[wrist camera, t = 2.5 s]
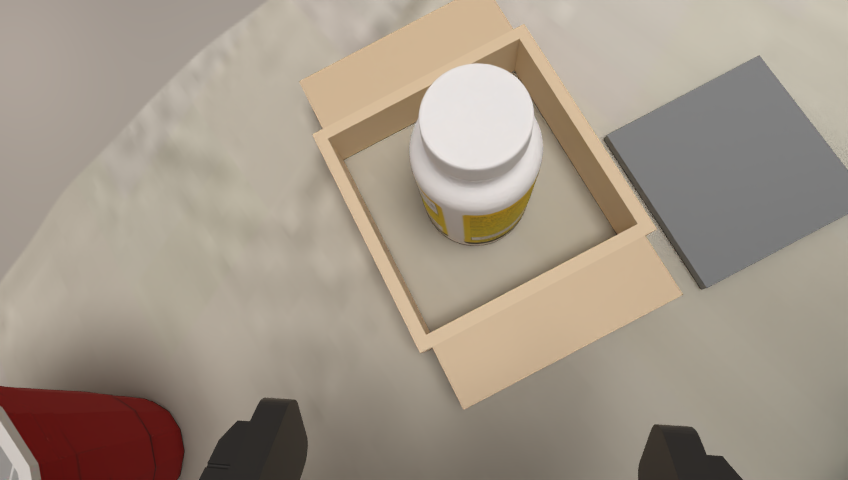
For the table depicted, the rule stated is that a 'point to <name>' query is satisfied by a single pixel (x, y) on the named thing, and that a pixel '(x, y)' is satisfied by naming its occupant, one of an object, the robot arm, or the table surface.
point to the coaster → (732, 171)
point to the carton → (517, 51)
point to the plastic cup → (85, 437)
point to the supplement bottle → (476, 152)
